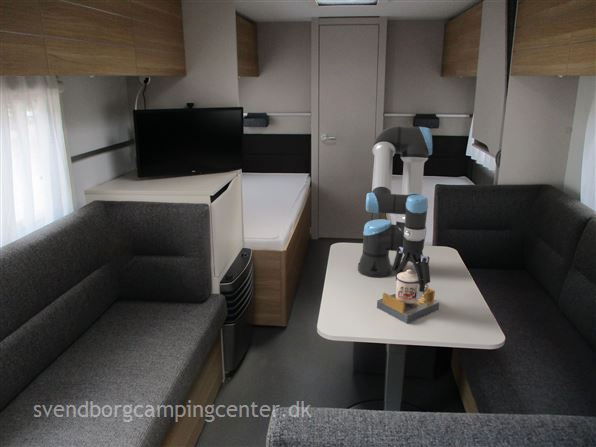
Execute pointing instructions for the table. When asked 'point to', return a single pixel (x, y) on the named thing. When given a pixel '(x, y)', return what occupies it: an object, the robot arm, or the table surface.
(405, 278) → the teacup with lid
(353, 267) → the table surface
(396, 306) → the grey tray
